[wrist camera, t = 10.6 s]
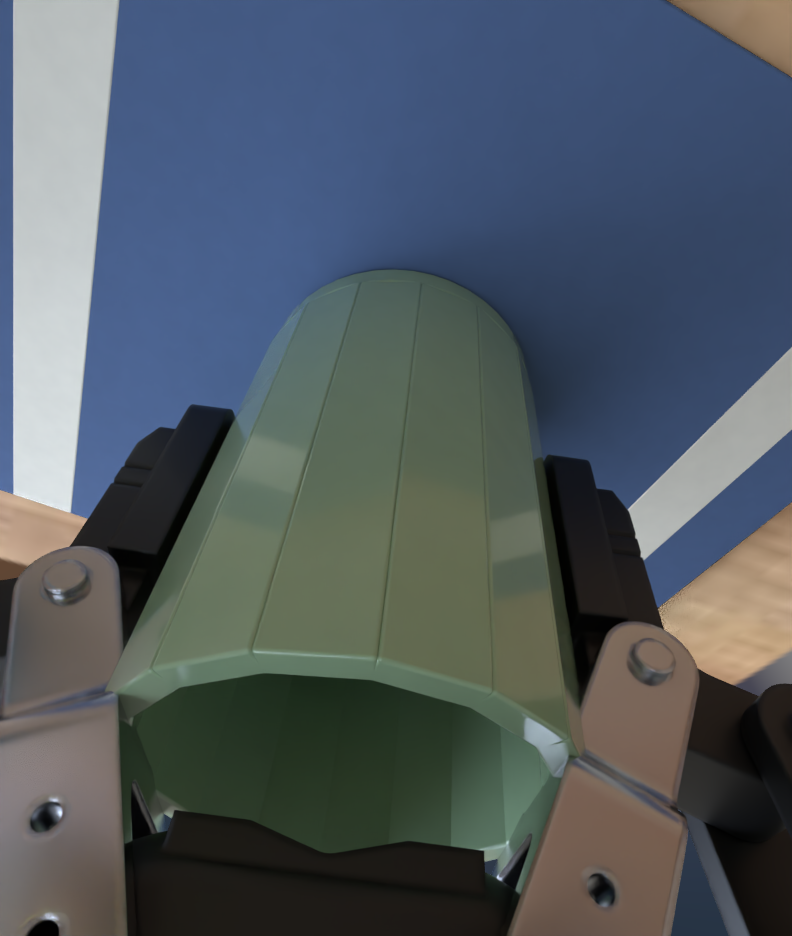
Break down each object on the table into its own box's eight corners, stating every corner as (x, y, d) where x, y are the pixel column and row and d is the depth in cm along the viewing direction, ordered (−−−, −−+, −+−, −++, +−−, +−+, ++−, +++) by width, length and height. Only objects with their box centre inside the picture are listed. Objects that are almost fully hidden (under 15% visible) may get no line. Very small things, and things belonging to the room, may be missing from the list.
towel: (-43, 464, 17) (-53, 474, 17) (-124, -482, 7) (-152, -503, 7) (569, 666, 21) (571, 677, 21) (1077, 255, 11) (1096, 263, 11)
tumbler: (218, 325, 13) (-22, 702, 7) (478, 221, 11) (501, 604, 5) (341, 508, 16) (262, 876, 10) (556, 452, 14) (632, 860, 8)
